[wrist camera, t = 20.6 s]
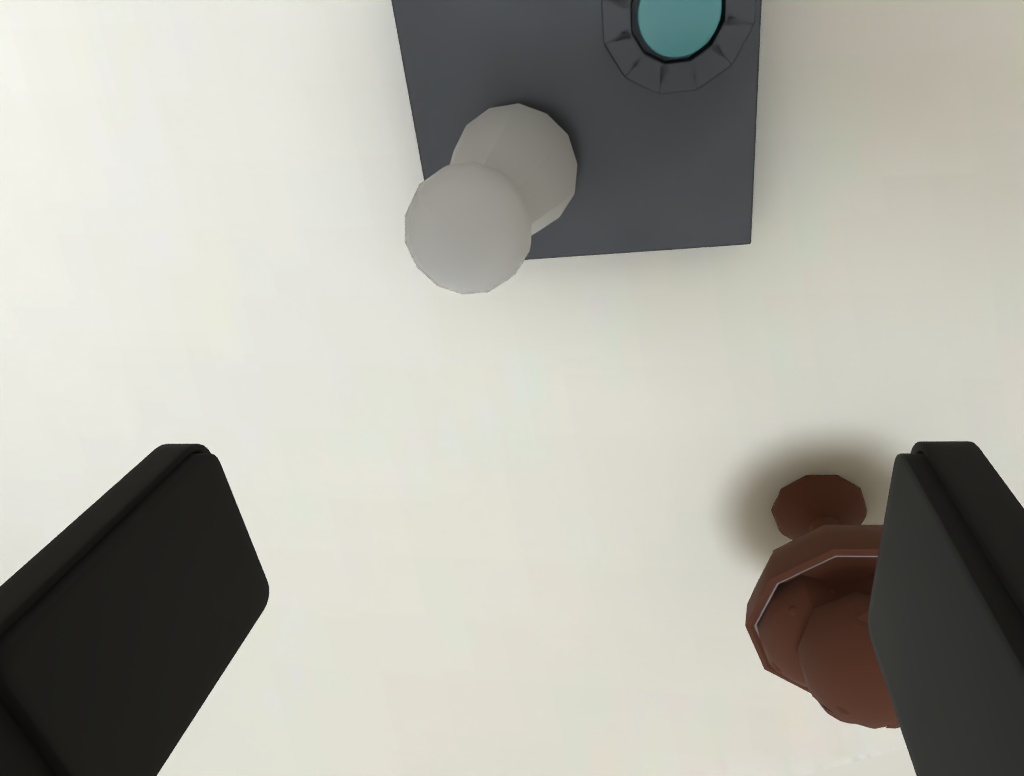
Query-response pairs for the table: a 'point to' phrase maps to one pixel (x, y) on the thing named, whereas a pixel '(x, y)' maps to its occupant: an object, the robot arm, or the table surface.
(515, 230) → the salt shaker
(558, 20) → the scale
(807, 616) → the ice cream bowl
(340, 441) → the table surface
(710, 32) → the button
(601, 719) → the table surface
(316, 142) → the table surface
